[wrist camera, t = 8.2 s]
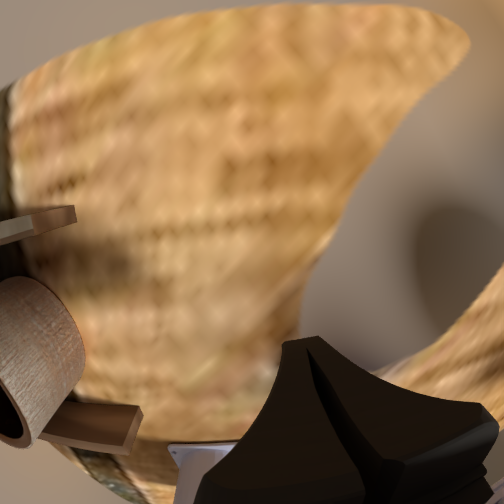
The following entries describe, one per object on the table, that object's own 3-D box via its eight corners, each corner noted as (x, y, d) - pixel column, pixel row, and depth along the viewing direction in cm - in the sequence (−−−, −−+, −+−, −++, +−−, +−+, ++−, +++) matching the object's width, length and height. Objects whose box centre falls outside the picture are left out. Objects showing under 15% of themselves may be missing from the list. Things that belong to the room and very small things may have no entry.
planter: (43, 391, 22) (-2, 450, 12) (-15, 299, 19) (-78, 339, 10) (112, 368, 21) (62, 450, 11) (41, 251, 18) (-47, 292, 9)
